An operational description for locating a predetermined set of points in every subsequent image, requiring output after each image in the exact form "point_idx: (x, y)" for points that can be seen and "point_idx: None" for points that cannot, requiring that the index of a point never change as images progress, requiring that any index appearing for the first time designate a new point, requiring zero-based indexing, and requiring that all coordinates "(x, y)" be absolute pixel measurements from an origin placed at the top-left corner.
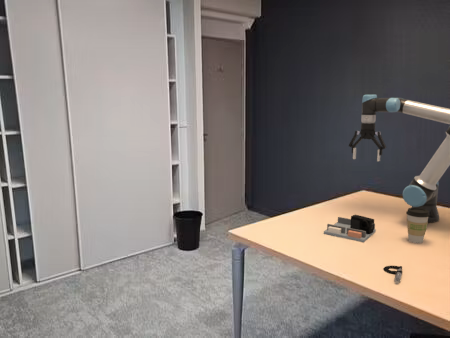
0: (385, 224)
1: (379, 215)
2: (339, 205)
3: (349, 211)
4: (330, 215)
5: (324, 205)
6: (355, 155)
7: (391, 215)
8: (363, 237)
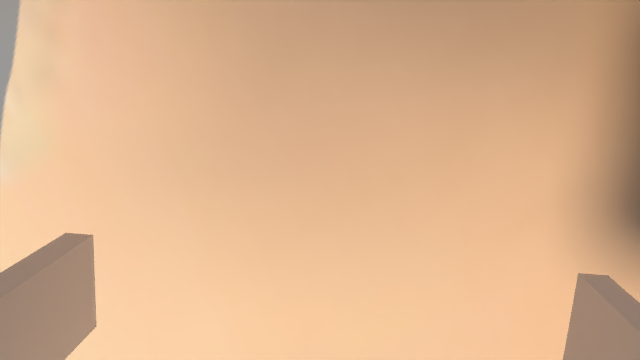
0: (517, 290)
1: (452, 121)
2: (136, 14)
3: (250, 132)
4: (179, 280)
5: (48, 74)
6: (54, 294)
7: (527, 77)
8: None
